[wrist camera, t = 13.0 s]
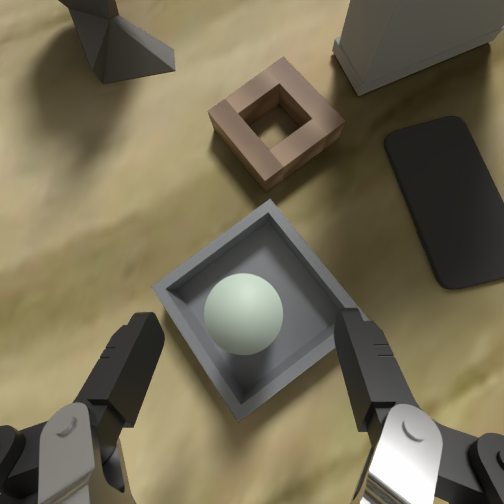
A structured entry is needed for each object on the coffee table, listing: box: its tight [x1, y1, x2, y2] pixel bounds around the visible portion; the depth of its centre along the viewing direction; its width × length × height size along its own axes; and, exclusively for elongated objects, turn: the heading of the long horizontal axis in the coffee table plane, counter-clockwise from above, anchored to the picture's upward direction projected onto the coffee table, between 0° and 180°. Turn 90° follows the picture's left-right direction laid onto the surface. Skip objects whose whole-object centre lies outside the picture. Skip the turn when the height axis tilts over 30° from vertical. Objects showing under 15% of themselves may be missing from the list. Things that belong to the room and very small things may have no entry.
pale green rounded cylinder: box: [204, 273, 283, 355], centre depth 16 cm, size 4×4×10 cm
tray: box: [152, 199, 370, 422], centre depth 20 cm, size 12×12×4 cm
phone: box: [384, 116, 504, 289], centre depth 22 cm, size 7×1×15 cm
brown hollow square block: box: [208, 56, 346, 192], centre depth 23 cm, size 9×9×2 cm
